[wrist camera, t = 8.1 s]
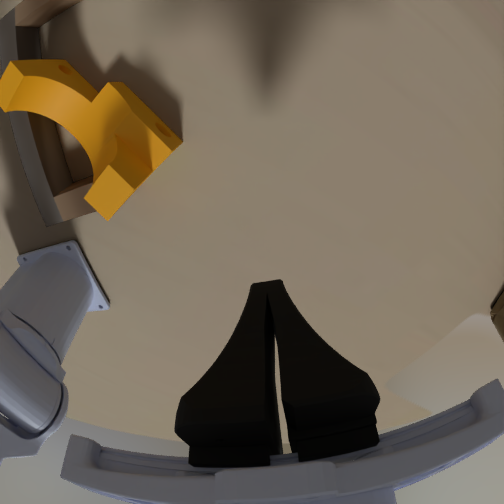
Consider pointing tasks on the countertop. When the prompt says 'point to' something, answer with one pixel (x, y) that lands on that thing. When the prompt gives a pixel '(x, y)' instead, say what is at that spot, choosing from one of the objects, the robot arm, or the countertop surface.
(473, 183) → the countertop surface
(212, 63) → the countertop surface
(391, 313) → the countertop surface
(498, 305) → the paper package
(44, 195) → the dark brown long trough
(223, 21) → the countertop surface
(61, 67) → the yellow bracket
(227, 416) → the robot arm
